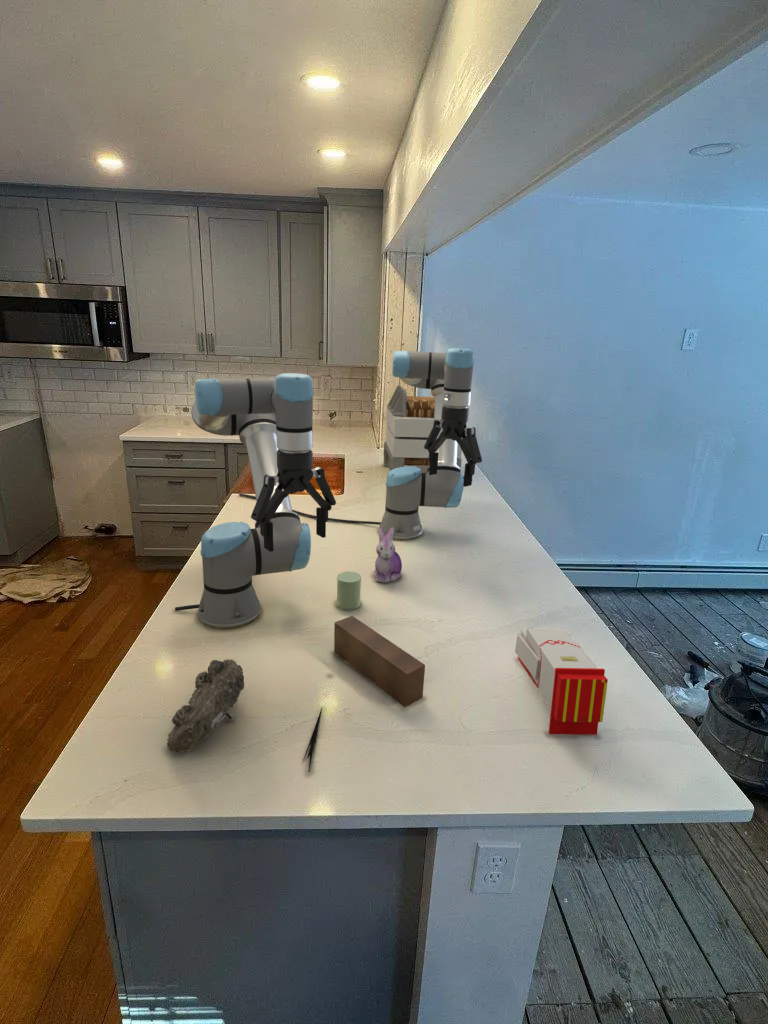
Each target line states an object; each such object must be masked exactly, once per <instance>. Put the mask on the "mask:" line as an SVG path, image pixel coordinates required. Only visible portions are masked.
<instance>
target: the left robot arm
mask: <svg viewBox="0 0 768 1024" xmlns="http://www.w3.org/2000/svg"><path fill="white" fill-rule="evenodd" d="M314 395H315V394H314V388H313V379H312V377H311V376H310V375H308V374H306V373H305V374H304V373H296V372H285V373H279V374H277V375H275V376H273V377H268V378H266V377H265V378H263V377H261V378H260V377H259V378H258V377H257V378H255V377H254V378H215V377H209V378H198V379H197V380H196V381H195V383H194V397H195V400H194V402H193V404H192V406H191V411H190V413H191V418H192V420H193V423H194V424H195V425H196V426H197V427H198V428H199V429H200V430H203V431H204V432H206V433H210V434H213V435H217V436H225V437H226V436H228V437H229V436H230V437H231V436H233V437H234V436H238V438H239V442H240V443H241V444H242V445H243V446H246V450H247V457H248V462H249V467H250V473H251V477H252V483H253V489H254V494H255V495H254V496H256V499H255V500H256V502H255V504H254V507H253V509H252V512H251V515H250V519H251V520H253V521H254V528H251V526H250V525H249V524H248V523H246V522H244V521H240V522H239V521H228V522H223V523H219V524H217V525H213V526H212V527H210V528H208V529H207V530H206V531H205V532H203V534H202V536H201V539H200V556H201V563H202V576H203V577H202V578H203V590H202V593H201V598H200V601H199V604H190V605H189V604H188V605H181V606H176V607H174V611H175V612H180V611H187V610H195V609H197V617H198V620H199V622H200V623H201V624H202V625H203V626H205V627H208V628H210V629H214V630H215V629H216V630H232V629H233V630H234V629H238V628H239V629H240V628H243V627H246V626H248V625H250V624H253V622H255V621H257V620H258V618H259V617H260V615H261V612H262V611H261V602H260V600H259V597H258V594H257V592H256V590H255V588H254V586H253V585H254V584H253V576H254V577H255V576H260V575H269V574H270V575H271V574H277V573H287V572H289V573H291V572H293V571H297V570H303V569H305V568H306V567H307V566H308V564H309V562H310V559H311V551H312V534H311V528H310V525H309V523H306V522H301V518H300V514H296V513H294V512H292V510H293V507H292V504H291V503H292V502H291V498H290V495H293V494H296V493H302V492H305V491H306V492H307V494H308V495H309V496H310V497H311V498H312V499H313V501H314V502H315V503H316V504H317V505H318V507H316V508H315V514H316V515H315V516H316V518H315V521H316V522H315V526H316V527H315V528H316V529H315V532H316V533H315V534H316V535H317V536H319V537H320V538H322V539H325V538H327V534H326V533H327V523H328V522H329V521H328V518H329V511H331V510H332V508H333V507H332V506H336V505H337V500H336V498H335V496H334V494H333V492H332V490H331V488H330V487H331V486H330V485H329V482H328V480H327V479H326V473H325V469H324V468H323V467H321V466H319V465H315V466H314V467H313V465H314V456H313V455H314V453H313V451H312V449H313V447H314V438H313V437H314V436H313V435H314V434H313V433H314V431H313V424H314V422H313V417H314V415H313V414H314V413H313V410H314V405H313V404H314V402H313V401H314ZM312 478H314V479H315V481H316V484H317V486H318V487H319V490H320V492H321V494H320V492H319V491H318V490H317V489H316V487H315V486H314V484H313V483H312V482H311V481H312Z"/></svg>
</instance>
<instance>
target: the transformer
mask: <svg viewBox="0 0 768 1024" xmlns="http://www.w3.org/2000/svg"><path fill="white" fill-rule="evenodd" d="M407 394H408V393H407V390H406V389H404V388H403V387H402V385H399V384H398V385H397V386H396V388H395V390H394V392H393V394H392V395H391V398H390V400H389V402H388V404H387V405H386V413H385V414H386V415H385V423H386V428H385V438H384V442H383V466H384V467H388V468H389V472H390V471H391V470H393V469H395V468H399V467H405V466H413V467H417V466H418V467H429V465H430V463H429V452H428V450H427V449H424V445H425V443H426V441H427V439H428V437H429V435H430V433H431V430H432V428H433V424H434V410H435V398H434V397H433V396H415V395H414V396H413V395H412V396H411V395H407ZM462 454H463V452H462V449H461V447H460V445H459V444H458V443H457V466H458V467H459V468H460V469H461V470H462V461H463V460H462Z"/></svg>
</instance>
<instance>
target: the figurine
mask: <svg viewBox="0 0 768 1024" xmlns="http://www.w3.org/2000/svg"><path fill="white" fill-rule="evenodd" d="M393 534H394V528H390V530H389V531H388V533H387V534H386V535H385V533H384V531H383V530H382V529H381V528H380V529H379V528H378V543H377V544H376V549H375V551H376V554H377V557H376V559H375V561H374V569H375V570H374V573H373V576H374V578H375V581H377V582H380V583H389V582H394V581H396V580H398V579H399V578H401V574H402V569H403V563H402V559H401V556H400V555H399V553H398V552H397V551H396V545H395V544H394V542H393V539H392V537H393Z"/></svg>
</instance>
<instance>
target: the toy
mask: <svg viewBox="0 0 768 1024" xmlns="http://www.w3.org/2000/svg"><path fill="white" fill-rule="evenodd" d="M520 632H521V633H520V634H519V633H518V634H517V635H516V642H515V647H514V653H515V654H516V655H517V660H518V661H519V663H520V664H521V666H522V667H523V669H524V670H525V672H526V673H527V675H528V676H529V678H530V680H531V681H532V683H533V684H534V685H535V687H536V688H537V689H538V692H539V694H540V696H541V697H542V699H543V701H544V702H545V704H546V706H547V708H548V710H549V711H550V716H549V724H548V734H549V735H566V736H567V735H568V736H569V735H571V736H575V735H576V736H597V735H598V730H599V723H603V722H604V714H605V705H606V698H607V689H608V682H609V680H608V678H607V677H606V676H605V674H606V669H604V668H599V667H598V666H597V664H596V663H594V662H593V660H592V659H591V657H589V655H588V654H587V653H586V652H585V650H584V649H583V648H582V647H581V646H580V644H579V643H578V642H577V641H576V640H575V639H574V637H573V636H572V635H571V634H570V632H569V631H568V630H567V629H566V628H535V627H534V628H533V627H532V628H531V627H529V628H526V630H523V629H521V631H520Z"/></svg>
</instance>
